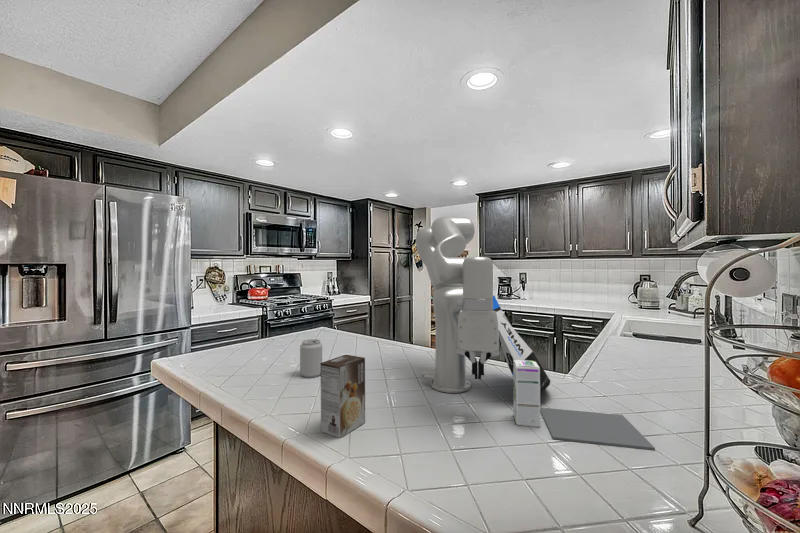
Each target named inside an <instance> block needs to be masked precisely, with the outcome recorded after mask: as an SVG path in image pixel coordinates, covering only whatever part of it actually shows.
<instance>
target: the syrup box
mask: <svg viewBox="0 0 800 533" xmlns="http://www.w3.org/2000/svg"><path fill="white" fill-rule="evenodd" d="M512 377H513V380H512V382H513V384H512V386H513V397H512V398H513V417H514V422H515V425H517V426H522V427H523V426H524V427H531V428H532V427H534V428H541V412H540V408H541V394H540V367H539V366H538V364H537V363H536V361H531V360H514V361H513V375H512Z"/></svg>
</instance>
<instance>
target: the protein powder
mask: <svg viewBox="0 0 800 533" xmlns="http://www.w3.org/2000/svg"><path fill="white" fill-rule="evenodd" d="M493 311H496V314H497V319H498V330H499V345H500V346H501V348H502V351H503V352H502V353H503V355H504V358H505V361H506V363H507V366H508V368H509V370H510V373H511V375H512V376H513V361H514V360H531V361H536V363H537V364H538V366H539V367H540V395H541V394H542V393H544V392H545V391H546V389H548V387H549V386H550V384H551V383H552V382H551V380H550V378H549V376H548V374H547V373H546V371H545V369H544V367H543V366H542V365H541V363H540V361H539V360H538V358H537V356H536V354H535V352H534V351H533V350H532V349H531V348H530V347H529V346H528V344H527V343H526V342H525V340H524V339H523V338H522V337H521V336H520V335H519V334H518V332H517V331H516V330H515V328H514V327H513V326H512V325H511V323H510V321H509V319H508V318H507V316H506V314H505V313H504V312H503V310H502V308H501V306H500V304H499V302H498V300H497V299H496V296H495V295H493Z"/></svg>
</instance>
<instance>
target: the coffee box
mask: <svg viewBox="0 0 800 533" xmlns="http://www.w3.org/2000/svg"><path fill="white" fill-rule="evenodd" d="M320 364H321V374H320V431H321V432H322V433H326V434H328V435H331V436H334V437H335V438H336V437H337V438H339V439H342V438H343V437H344V436H346V435H348V434H349V433H350V432H352V431H355V429H357V428H359V427H360V426H362V425H364V424H365V423H366V357H363V356H357V355H356V356H355V355H351V354H343V355H340V356H337V357H334V358H331V359H328V360H325V361H322V363H320Z"/></svg>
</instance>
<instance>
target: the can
mask: <svg viewBox="0 0 800 533" xmlns="http://www.w3.org/2000/svg"><path fill="white" fill-rule="evenodd" d="M299 349H300V350H299V362H300V363H299V374H300V375H301V376H302V377H303V378H309V379H312V378H316V377H319V376H321V364H320V363H322V362H323V343H321V340H320V339H318V338H317V339H316V338H309V339H305V340H303V341H302V342H301V345H300V347H299Z"/></svg>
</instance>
